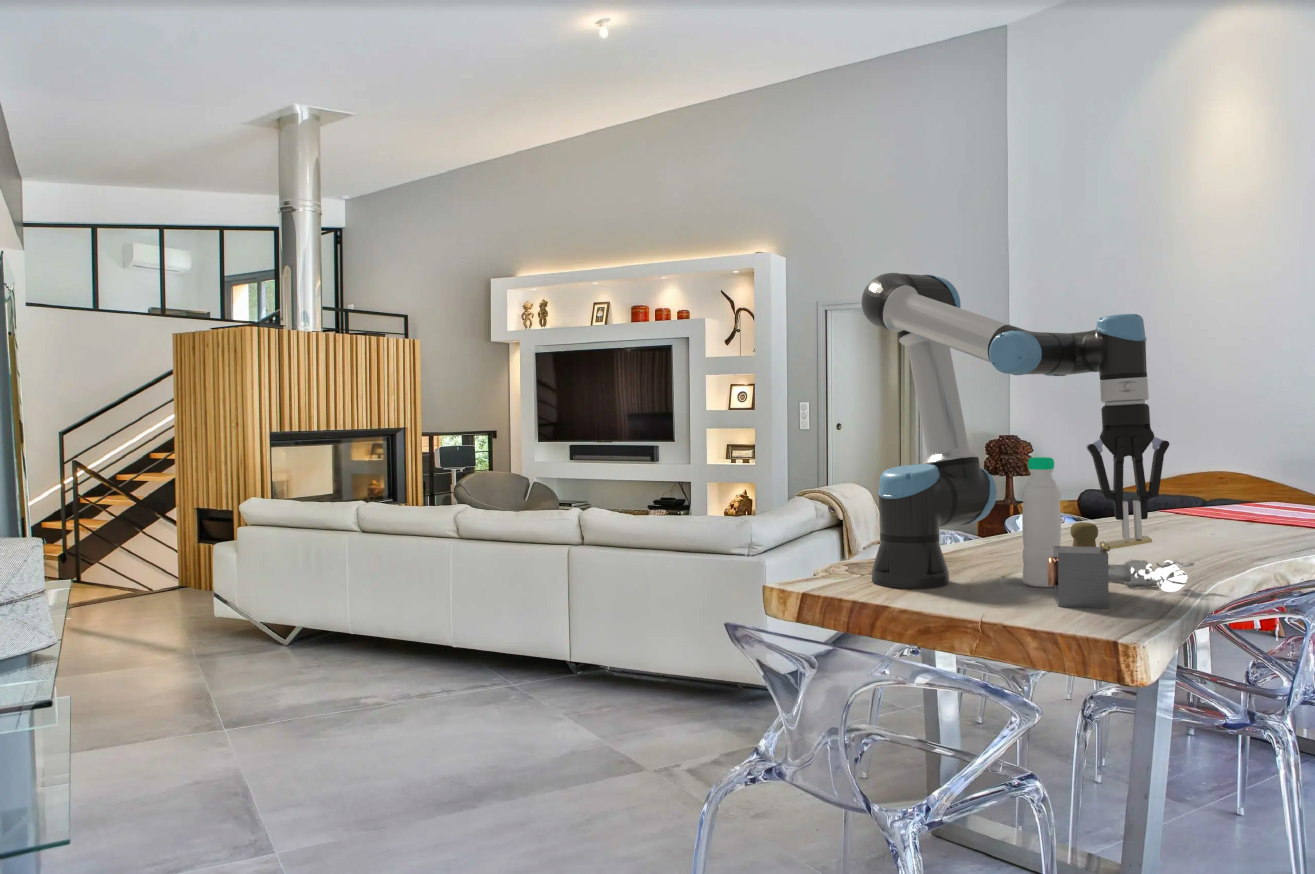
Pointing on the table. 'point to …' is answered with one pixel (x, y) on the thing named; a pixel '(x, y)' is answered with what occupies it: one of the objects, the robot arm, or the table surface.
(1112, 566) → the pin
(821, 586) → the table surface
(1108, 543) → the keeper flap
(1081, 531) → the cork
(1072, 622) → the table surface
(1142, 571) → the figurine
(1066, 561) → the block
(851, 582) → the table surface
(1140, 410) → the robot arm
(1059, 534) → the water bottle
